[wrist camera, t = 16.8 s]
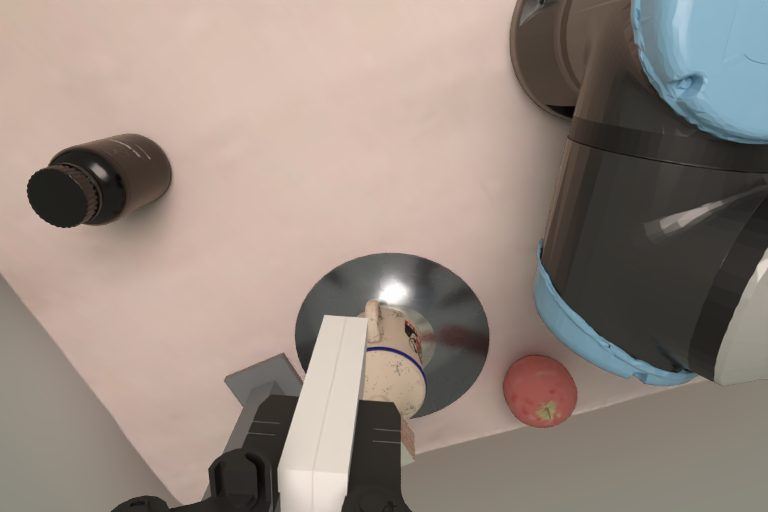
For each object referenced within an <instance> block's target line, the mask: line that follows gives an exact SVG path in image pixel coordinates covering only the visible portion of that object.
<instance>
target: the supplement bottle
mask: <svg viewBox="0 0 768 512" xmlns="http://www.w3.org/2000/svg"><path fill="white" fill-rule="evenodd" d="M170 177H171V172H170V166H169V162H168V160H167V158H166V156H165V154H164V153H163V151H162V150H161V149H160V148H159V147H158V146H157V145H156V144H155V143H154V142H153V141H151V140H150V139H148V138H146V137H143V136H140V135H137V134H122V135H117V136H113V137H109V138H105V139H101V140H96V141H92V142H88V143H84V144H80V145H76V146H72V147H69V148H66V149H64V150H62V151H60V152H58V153H57V154H56V155H55V156H54V157H53V158H52V159H51V161H50V163H49V164H48V167H47V168H43V169H41V170H39V171H37V172H35V174H34V175H32V176H31V179H30V180H29V183H28V185H27V188H28V189H27V193H28V195H27V197H28V199H29V203H30V204H31V206H32V208H33V209H34V210H35V212H36V214H38V215H39V216H40V218H42V219H44V220H45V221H46V222H48V223H50V224H51V225H55V226H56V227H62V228H66V227H67V228H71V227H76V226H78V225H80V224H85V225H91V226H101V225H106V224H109V223H112V222H114V221H116V220H118V219H120V218H122V217H124V216H126V215H128V214H129V213H131V212H133V211H135V210H137V209H139V208H141V207H142V206H144V205H146V204H148V203H150V202H152V201H154V200H155V199H157V198H158V197H160V196H161V195H162V194H163V193H164V192H165V191H166V189H167V187H168V185H169V182H170Z"/></svg>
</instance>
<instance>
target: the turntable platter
mask: <svg viewBox="0 0 768 512" xmlns="http://www.w3.org/2000/svg"><path fill="white" fill-rule="evenodd" d="M369 300H377V301H378V302H379V304H380V307H381V308H390V309H394V310H397V311H400V312H402V313H404V314H405V315H407V316H408V317H409V318H411V319H412V320H413V322H414V323H415V324H416V326H417V327H418V329H419V332H420V335H421V345H422V359H423V372H424V374H425V377H426V381H427V392H426V396H425V399H424V401H423V404H422V405H421V407H420V408H419V410H418V411H417V412H416V413H415V414H414V415H413V416H412V417H411V418H417V417H421V416H425V415H428V414H431V413H434V412H436V411H438V410H441V409H443V408H444V407H446V406H448V405H450V404H451V403H453V402H454V401H456V400H457V399H458V398H460V397H461V396H462V395H463V394H464V393H465V392H466V391H467V390H468V389H469V388H470V387H471V386H472V384H473V383H474V382H475V381H476V379H477V377H478V376H479V374H480V372H481V371H482V368H483V366H484V363H485V361H486V357H487V353H488V348H489V328H488V323H487V318H486V315H485V313H484V310H483V307H482V305H481V303H480V302H479V300H478V298H477V296H476V295H475V294H474V292H473V291H472V290H471V288H470V287H469V286H468V285H467V284H466V283H465V282H464V281H463V280H462V279H461V278H460V277H459V276H457V275H456V274H455V273H453V272H452V271H451V270H449V269H447V268H445V267H444V266H442V265H440V264H438V263H436V262H433V261H431V260H428V259H426V258H422V257H418V256H414V255H408V254H401V253H381V254H372V255H368V256H364V257H359V258H356V259H354V260H351V261H348V262H346V263H344V264H342V265H340V266H338V267H336V268H335V269H333V270H332V271H330V272H329V273H328V274H326V275H325V276H324V277H323V278H322V279H321V280H320V281H318V282H317V283H316V284H315V286H314V287H313V288H312V289H311V291H310V292H309V293H308V295H307V297H306V298H305V300H304V302H303V304H302V306H301V309H300V311H299V314H298V318H297V322H296V330H295V341H296V349H297V353H298V357H299V360H300V363H301V365H302V368H303V369H304V371H305V373H306V374H307V370H308V367H309V364H310V360H311V357H312V354H313V351H314V347H315V344H316V341H317V337H318V334H319V331H320V328H321V324H322V321H323V318H324V315H331V316H345V317H357V316H358V315H359V314H361V313H363V312H365V306H366V303H367V302H368V301H369ZM411 418H409V419H411Z"/></svg>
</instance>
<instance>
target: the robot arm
mask: <svg viewBox="0 0 768 512" xmlns="http://www.w3.org/2000/svg"><path fill="white" fill-rule="evenodd" d="M510 52H511V59H512V63H513V67H514V70H515V73H516V76H517V78H518V80H519V82H520V84H521V86H522V87H523V89H524V90H525V92H526V93H527V94H528V96H529V97H530V98H531V99H532V100H533V101H534V102H535V103H536V104H537V105H539V106H540V107H541V108H543V109H544V110H546V111H547V112H549V113H551V114H553V115H555V116H558V117H561V118H564V119H566V120H570V121H572V123H571V128H570V132H569V135H568V137H567V141H566V145H565V149H564V153H563V158H562V162H561V166H560V170H559V174H558V178H557V183H556V187H555V191H554V195H553V199H552V203H551V207H550V212H549V216H548V220H547V224H546V228H545V232H544V237H543V238H542V239H541V240H540V242H539V246H538V251H537V260H538V266H537V271H536V276H535V282H534V288H533V294H534V299H535V302H536V308H537V310H538V313H539V315H540V317H541V319H542V320H543V322H544V323H545V325H546V326H547V327H548V329H549V330H550V331H551V332H552V333H553V334H554V335H555V336H556V337H557V338H558V339H559V340H560V341H561V342H562V343H563V344H564V345H565V346H567V347H568V348H569V349H571V350H572V351H573V352H575V353H576V354H577V355H579V356H580V357H582V358H583V359H585V360H587V361H588V362H590V363H592V364H594V365H596V366H597V367H599V368H601V369H604V370H606V371H608V372H610V373H612V374H615V375H618V376H620V377H623V378H630V377H631V376H632V375H634V376H635V377H637V378H638V379H639V380H640V381H642V382H643V383H644V384H650V385H658V386H672V385H678V384H683V383H685V382H688V381H690V380H691V379H692V378H694V377H696V376H698V375H700V376H703V377H705V378H707V379H709V380H711V381H713V382H715V383H717V384H719V385H721V386H730V385H735V384H740V383H745V382H750V381H755V380H768V0H518V1H517V4H516V7H515V10H514V13H513V17H512V23H511V30H510ZM367 332H368V318H359V317H345V316H331V315H324V318H323V321H322V324H321V328H320V331H319V334H318V337H317V341H316V344H315V347H314V351H313V354H312V357H311V360H310V364H309V367H308V370H307V374H306V377H305V380H304V383H303V387H302V390H301V393H300V396H287V395H273V394H271V395H270V396H269V397H268V398H267V399H266V400H265V401H264V402H262V403H261V404H260V405H259V407H258V409H257V412H256V414H255V416H254V419H253V423H252V424H251V426H250V428H249V431H248V434H247V436H246V438H245V441H244V443H243V445H242V448H238V449H234V450H231V451H229V452H226V453H224V454H223V455H221V456H220V457H218V458H217V459H216V460H215V461H214V462H213V463H212V465H211V466H210V467H209V469H208V471H209V480H210V490H211V497H209V498H207V499H205V500H203V501H201V502H197V503H194V504H190V505H185V506H181V507H176V508H171V509H169V508H168V506H167V504H166V502H165V501H163V500H162V499H160V498H158V497H155V496H141V497H136V498H132V499H130V500H128V501H126V502H124V503H122V504H120V505H118V506H117V507H116V508H115V509H113V510H112V511H111V512H412V511H411V510H410V509H409V508H408V506H407V505H406V504H405V502H404V500H403V497H402V494H401V415H400V413H399V411H398V409H397V407H396V405H395V404H394V402H384V401H371V400H363V394H364V385H365V368H366V350H367Z"/></svg>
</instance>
